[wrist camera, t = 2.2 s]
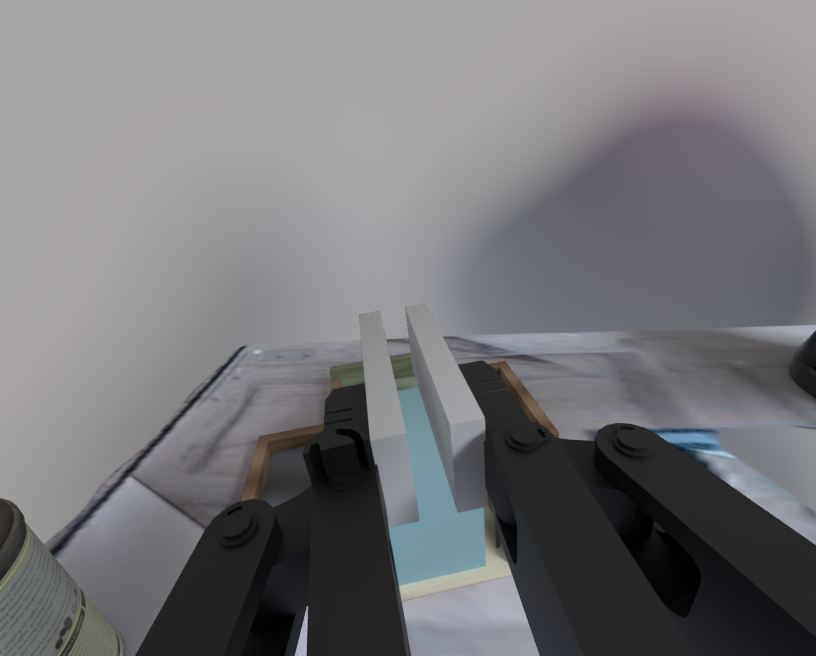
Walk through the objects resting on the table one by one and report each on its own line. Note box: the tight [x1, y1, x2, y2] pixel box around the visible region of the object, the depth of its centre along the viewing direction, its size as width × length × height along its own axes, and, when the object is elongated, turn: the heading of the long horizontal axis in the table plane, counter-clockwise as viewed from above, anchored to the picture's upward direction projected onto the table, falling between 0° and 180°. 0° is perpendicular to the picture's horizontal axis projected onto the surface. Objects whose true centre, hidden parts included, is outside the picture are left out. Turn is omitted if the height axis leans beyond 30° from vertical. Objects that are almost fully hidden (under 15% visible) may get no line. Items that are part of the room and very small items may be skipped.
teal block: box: [389, 387, 486, 586], centre depth 30 cm, size 9×9×11 cm
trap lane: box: [241, 353, 559, 601], centre depth 41 cm, size 29×31×4 cm
